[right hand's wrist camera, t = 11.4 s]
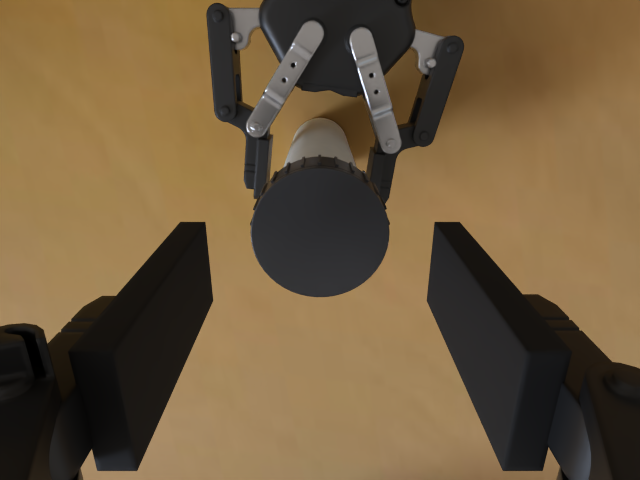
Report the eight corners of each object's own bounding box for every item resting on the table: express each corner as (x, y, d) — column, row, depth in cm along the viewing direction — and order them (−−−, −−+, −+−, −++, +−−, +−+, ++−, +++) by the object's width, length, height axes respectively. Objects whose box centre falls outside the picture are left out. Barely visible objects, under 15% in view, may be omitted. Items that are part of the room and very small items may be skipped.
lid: (315, 297, 19) (315, 323, 17) (229, 213, 18) (218, 230, 16) (409, 222, 18) (420, 241, 16) (325, 125, 17) (326, 133, 15)
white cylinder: (317, 183, 35) (315, 300, 18) (281, 143, 33) (241, 227, 16) (358, 147, 34) (397, 236, 17) (322, 105, 32) (324, 154, 15)
